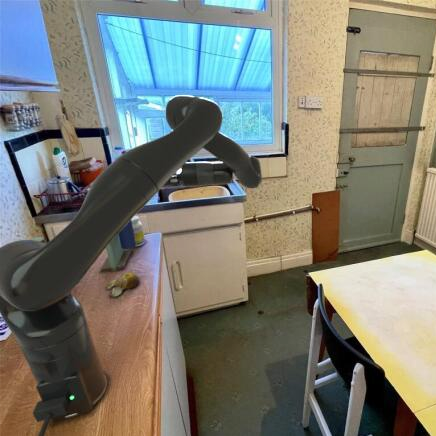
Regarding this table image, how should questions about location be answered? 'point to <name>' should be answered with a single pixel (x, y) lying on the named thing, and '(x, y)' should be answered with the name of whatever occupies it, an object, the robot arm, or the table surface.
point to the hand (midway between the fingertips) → (143, 175)
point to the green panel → (115, 255)
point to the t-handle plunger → (127, 236)
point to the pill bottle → (138, 231)
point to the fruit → (124, 283)
